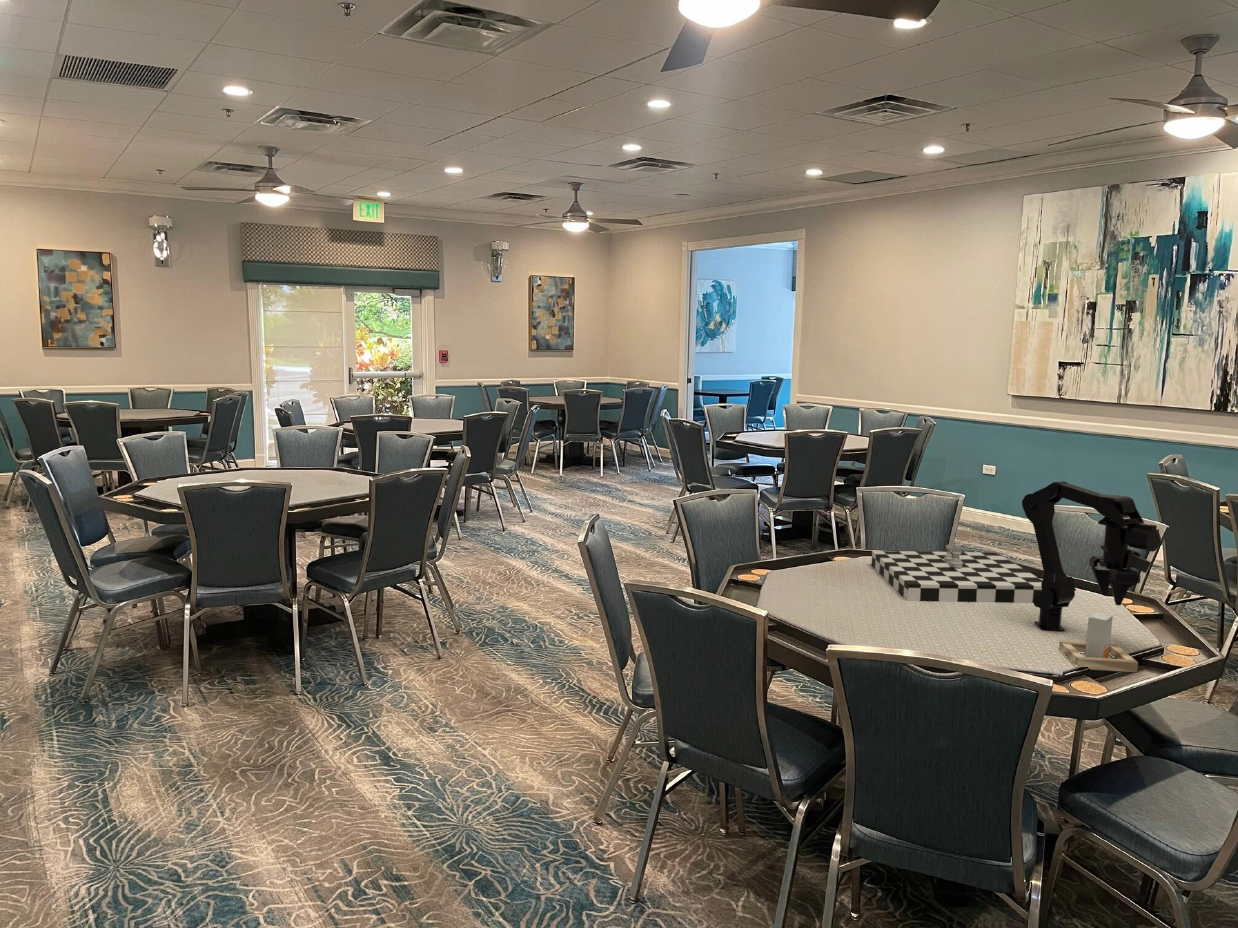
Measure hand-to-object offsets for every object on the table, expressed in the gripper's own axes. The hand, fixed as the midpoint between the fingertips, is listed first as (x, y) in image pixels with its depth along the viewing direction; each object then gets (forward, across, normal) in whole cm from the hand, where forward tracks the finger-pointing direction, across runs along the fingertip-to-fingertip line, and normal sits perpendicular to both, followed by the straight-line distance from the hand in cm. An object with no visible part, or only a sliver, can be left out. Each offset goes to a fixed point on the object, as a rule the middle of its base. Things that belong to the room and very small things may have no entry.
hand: (1111, 600), depth 243 cm
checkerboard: (+14, +61, +26) cm, 67 cm away
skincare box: (+13, -12, +7) cm, 19 cm away
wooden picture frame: (+13, -12, +7) cm, 19 cm away
